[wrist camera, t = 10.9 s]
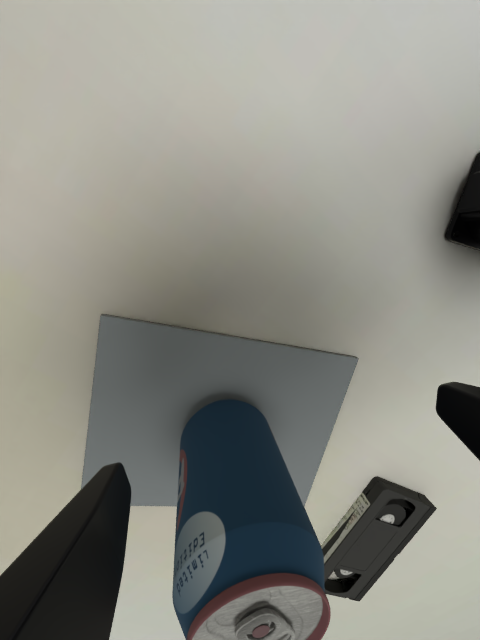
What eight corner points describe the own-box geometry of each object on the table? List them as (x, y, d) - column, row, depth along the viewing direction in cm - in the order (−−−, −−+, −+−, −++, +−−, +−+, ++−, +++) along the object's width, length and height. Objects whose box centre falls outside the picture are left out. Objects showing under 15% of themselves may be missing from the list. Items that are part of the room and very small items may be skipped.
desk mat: (355, 356, 22) (358, 358, 22) (302, 503, 26) (303, 507, 25) (102, 314, 18) (100, 315, 17) (81, 500, 21) (79, 505, 21)
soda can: (163, 423, 20) (126, 652, 9) (238, 375, 20) (298, 542, 9) (211, 477, 22) (232, 714, 11) (279, 433, 22) (369, 626, 11)
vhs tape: (371, 471, 27) (385, 488, 25) (421, 491, 29) (436, 508, 27) (298, 568, 29) (305, 590, 27) (349, 579, 32) (359, 601, 30)
